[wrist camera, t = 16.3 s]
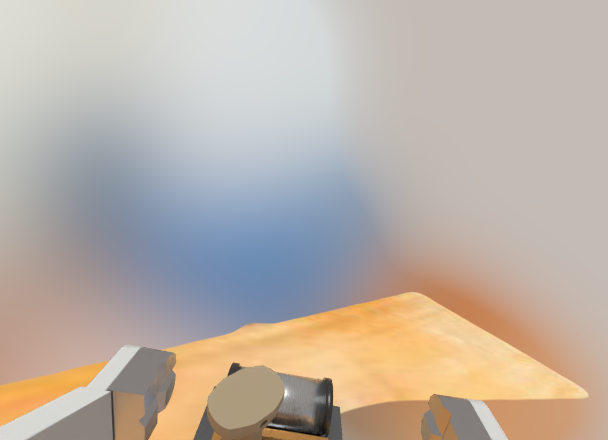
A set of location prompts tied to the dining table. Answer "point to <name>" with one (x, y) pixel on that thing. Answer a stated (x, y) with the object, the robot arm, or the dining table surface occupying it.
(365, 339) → the dining table surface
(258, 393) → the handle
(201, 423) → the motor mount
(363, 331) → the dining table surface
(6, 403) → the dining table surface
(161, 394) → the robot arm
